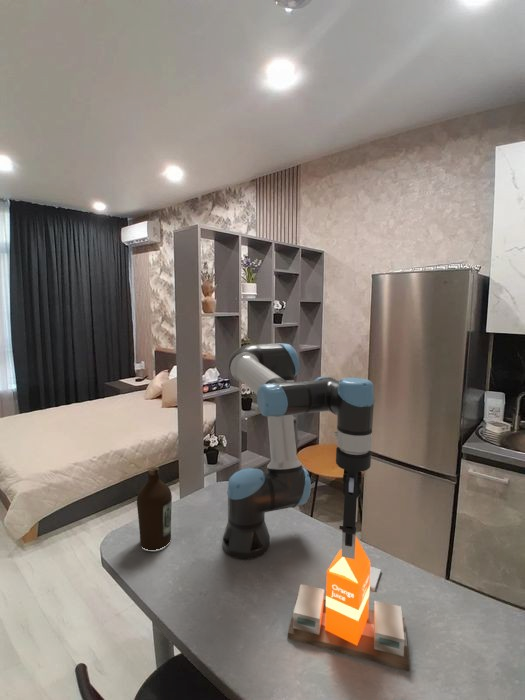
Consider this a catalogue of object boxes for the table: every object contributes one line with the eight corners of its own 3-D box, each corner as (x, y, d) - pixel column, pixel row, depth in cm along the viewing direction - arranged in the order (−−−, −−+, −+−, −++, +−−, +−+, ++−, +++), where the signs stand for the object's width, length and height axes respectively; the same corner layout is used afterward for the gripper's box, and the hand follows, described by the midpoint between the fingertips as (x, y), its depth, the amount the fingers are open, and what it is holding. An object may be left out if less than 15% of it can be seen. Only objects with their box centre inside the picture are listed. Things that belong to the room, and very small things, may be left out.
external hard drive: (374, 593, 97) (330, 576, 103) (381, 574, 104) (338, 559, 110) (375, 588, 97) (330, 571, 103) (381, 568, 104) (339, 554, 110)
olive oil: (133, 553, 112) (130, 476, 109) (145, 532, 122) (143, 461, 119) (167, 554, 111) (164, 477, 108) (176, 533, 122) (175, 462, 119)
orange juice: (368, 617, 87) (372, 539, 85) (357, 646, 80) (361, 562, 77) (337, 603, 91) (340, 529, 89) (324, 629, 84) (326, 549, 81)
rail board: (287, 638, 83) (288, 616, 83) (297, 598, 95) (297, 579, 94) (408, 670, 76) (410, 647, 75) (403, 623, 87) (404, 602, 87)
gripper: (340, 428, 93) (337, 505, 96) (330, 470, 69) (327, 571, 72) (371, 431, 91) (367, 510, 94) (371, 476, 67) (366, 580, 70)
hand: (349, 537), depth 83 cm, fingers open, 13 cm apart
